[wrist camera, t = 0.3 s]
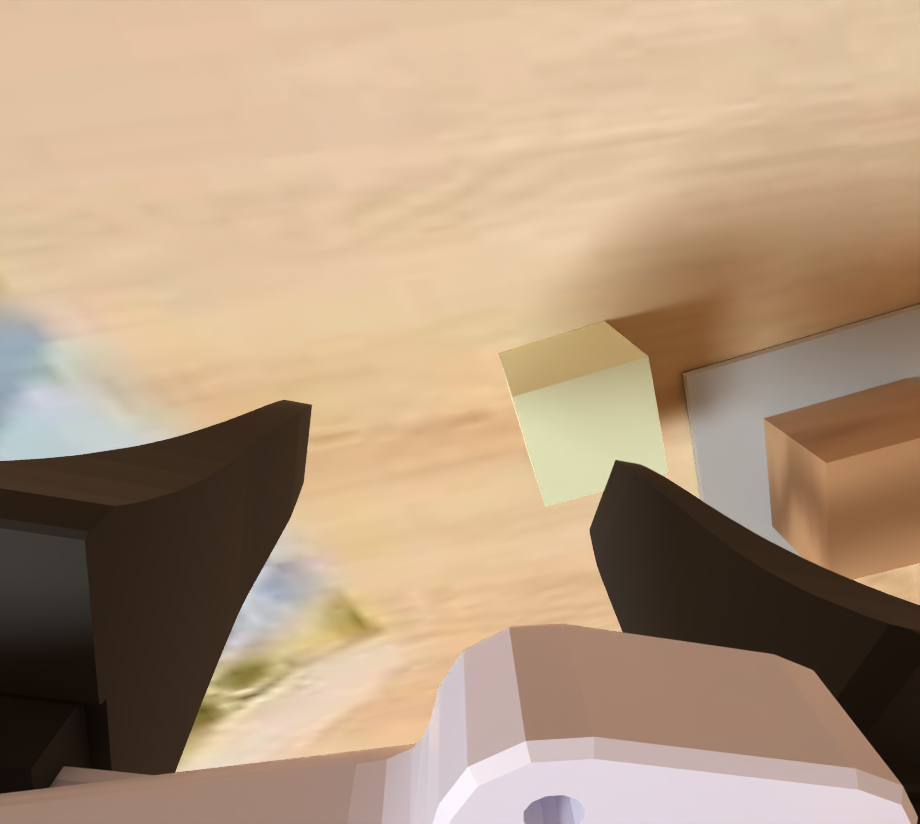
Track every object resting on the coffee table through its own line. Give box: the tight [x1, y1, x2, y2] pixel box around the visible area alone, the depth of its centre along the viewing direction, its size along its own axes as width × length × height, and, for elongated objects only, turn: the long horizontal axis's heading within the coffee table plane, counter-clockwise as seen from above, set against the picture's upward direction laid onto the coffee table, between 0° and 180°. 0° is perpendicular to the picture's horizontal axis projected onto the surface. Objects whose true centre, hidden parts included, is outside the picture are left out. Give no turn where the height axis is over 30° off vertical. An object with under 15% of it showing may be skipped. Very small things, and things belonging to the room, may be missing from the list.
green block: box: [498, 321, 669, 507], centre depth 20 cm, size 4×4×5 cm
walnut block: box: [764, 378, 920, 580], centre depth 21 cm, size 6×6×4 cm
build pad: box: [682, 304, 920, 558], centre depth 23 cm, size 12×12×1 cm
